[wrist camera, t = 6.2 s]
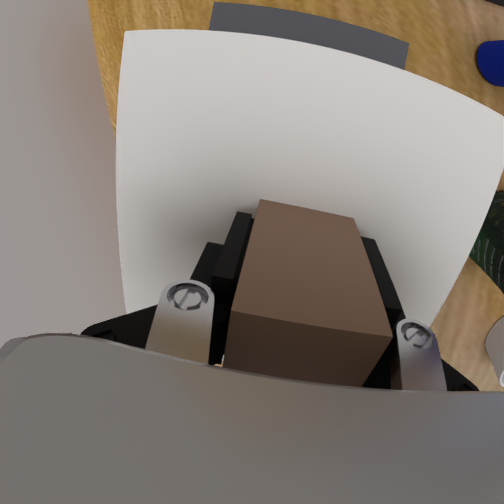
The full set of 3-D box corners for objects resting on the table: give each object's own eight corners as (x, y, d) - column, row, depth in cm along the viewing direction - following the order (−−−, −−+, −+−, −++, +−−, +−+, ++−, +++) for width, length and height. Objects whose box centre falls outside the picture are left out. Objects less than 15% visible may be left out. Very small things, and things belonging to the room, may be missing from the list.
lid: (502, 119, 9) (624, 176, 3) (387, 371, 17) (404, 476, 11) (137, 33, 9) (-1, 20, 3) (136, 326, 17) (86, 426, 11)
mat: (407, 44, 23) (409, 43, 23) (363, 213, 33) (364, 215, 32) (215, 3, 24) (214, 2, 23) (190, 176, 33) (188, 178, 33)
